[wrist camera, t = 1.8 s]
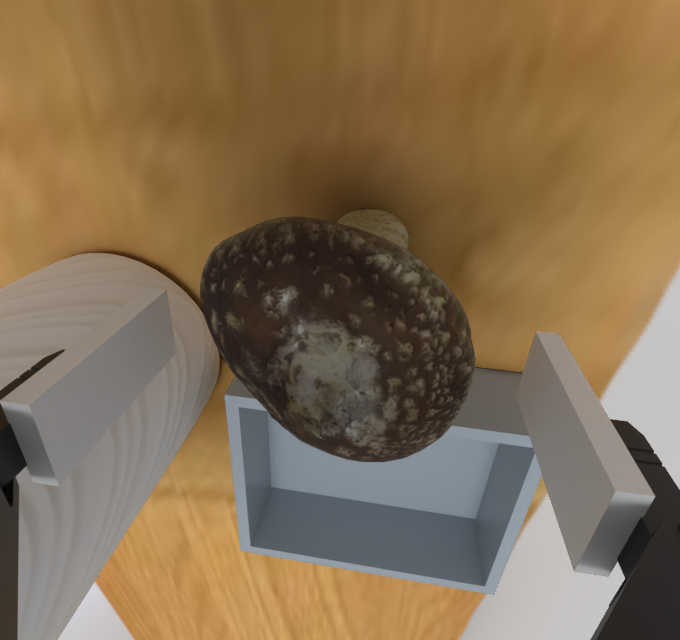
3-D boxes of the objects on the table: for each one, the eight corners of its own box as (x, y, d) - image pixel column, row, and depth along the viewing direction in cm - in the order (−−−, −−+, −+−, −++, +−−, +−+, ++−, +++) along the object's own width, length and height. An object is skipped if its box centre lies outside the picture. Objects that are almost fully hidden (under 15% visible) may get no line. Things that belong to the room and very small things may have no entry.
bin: (256, 340, 31) (224, 394, 25) (530, 373, 29) (556, 439, 24) (264, 486, 38) (240, 551, 33) (482, 520, 36) (494, 595, 31)
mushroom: (467, 276, 26) (521, 475, 13) (338, 321, 29) (277, 521, 16) (410, 119, 22) (407, 178, 9) (268, 188, 25) (116, 306, 12)
